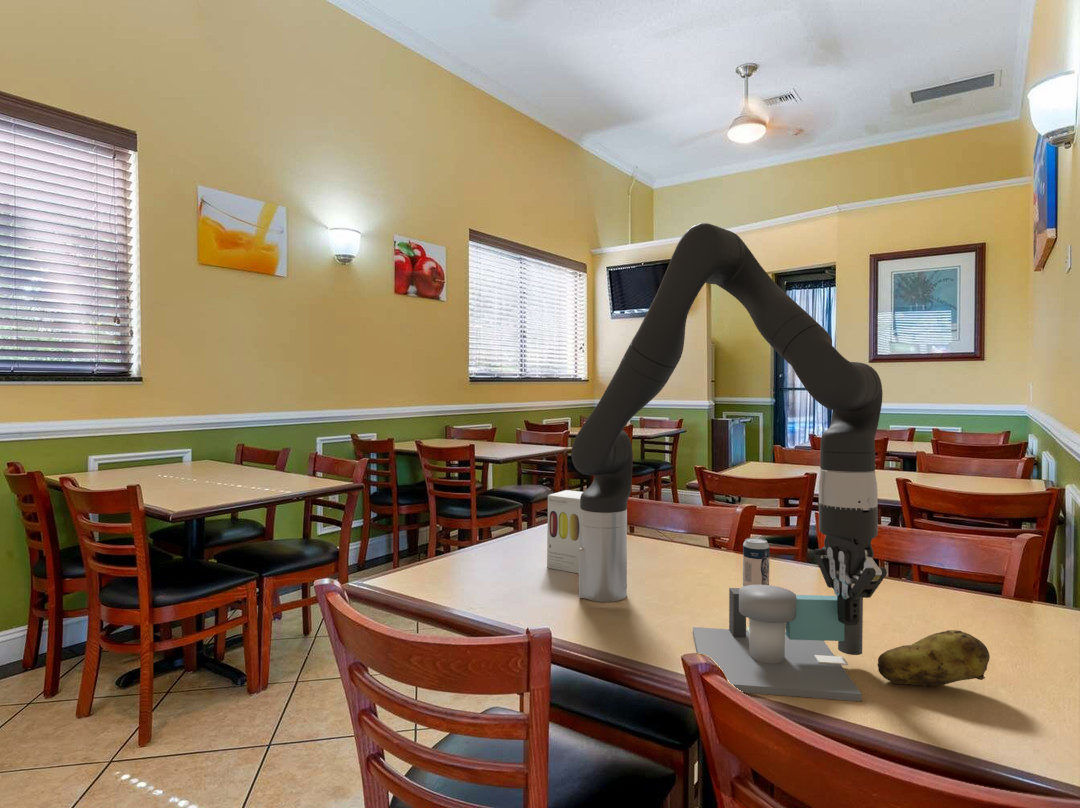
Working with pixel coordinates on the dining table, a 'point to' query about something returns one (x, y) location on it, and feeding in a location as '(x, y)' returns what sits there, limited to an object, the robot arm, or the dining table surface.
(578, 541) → the supplement box
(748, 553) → the beer can
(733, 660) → the post base
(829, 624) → the lever
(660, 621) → the dining table surface
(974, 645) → the potato
